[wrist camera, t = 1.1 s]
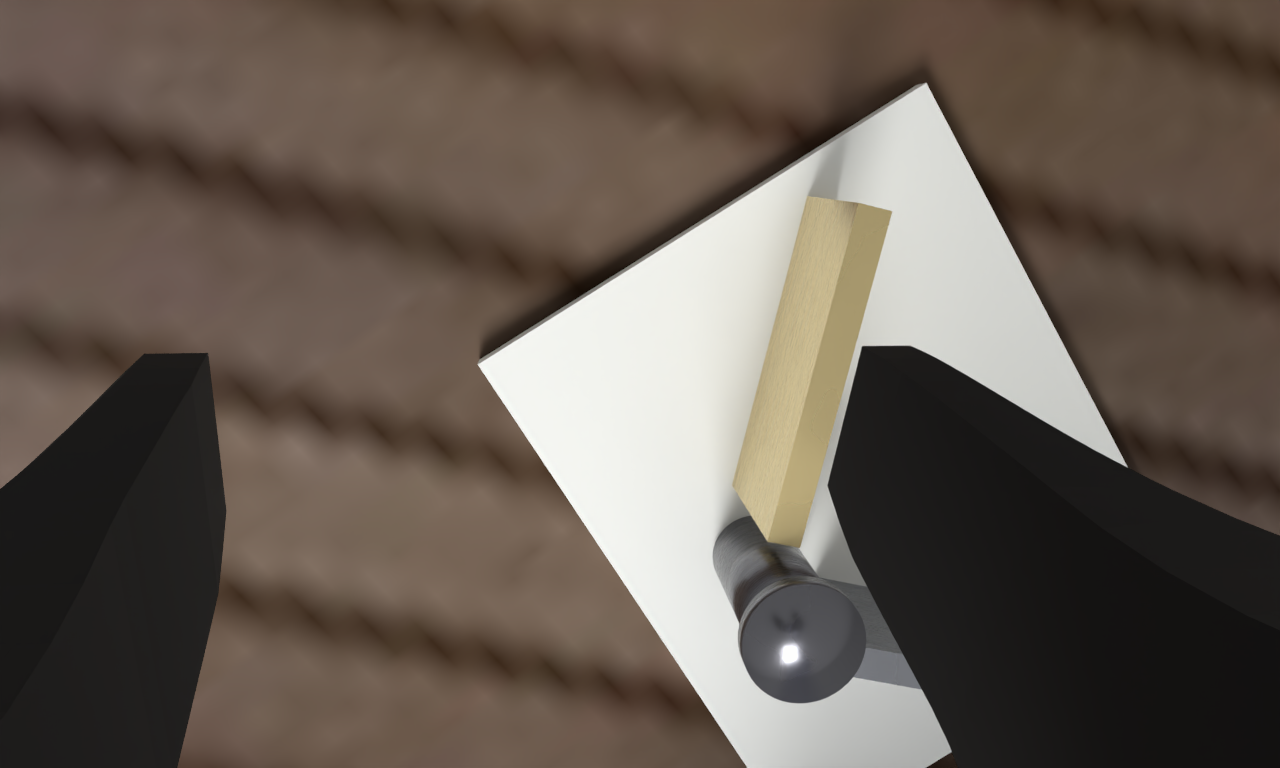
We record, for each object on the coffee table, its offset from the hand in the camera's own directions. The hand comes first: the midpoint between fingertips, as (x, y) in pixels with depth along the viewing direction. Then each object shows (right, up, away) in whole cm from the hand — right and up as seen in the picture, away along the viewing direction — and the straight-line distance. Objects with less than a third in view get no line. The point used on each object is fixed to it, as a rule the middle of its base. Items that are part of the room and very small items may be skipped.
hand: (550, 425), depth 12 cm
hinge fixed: (+7, -5, +15) cm, 17 cm away
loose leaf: (+4, +1, +14) cm, 14 cm away
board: (+6, -2, +15) cm, 16 cm away
